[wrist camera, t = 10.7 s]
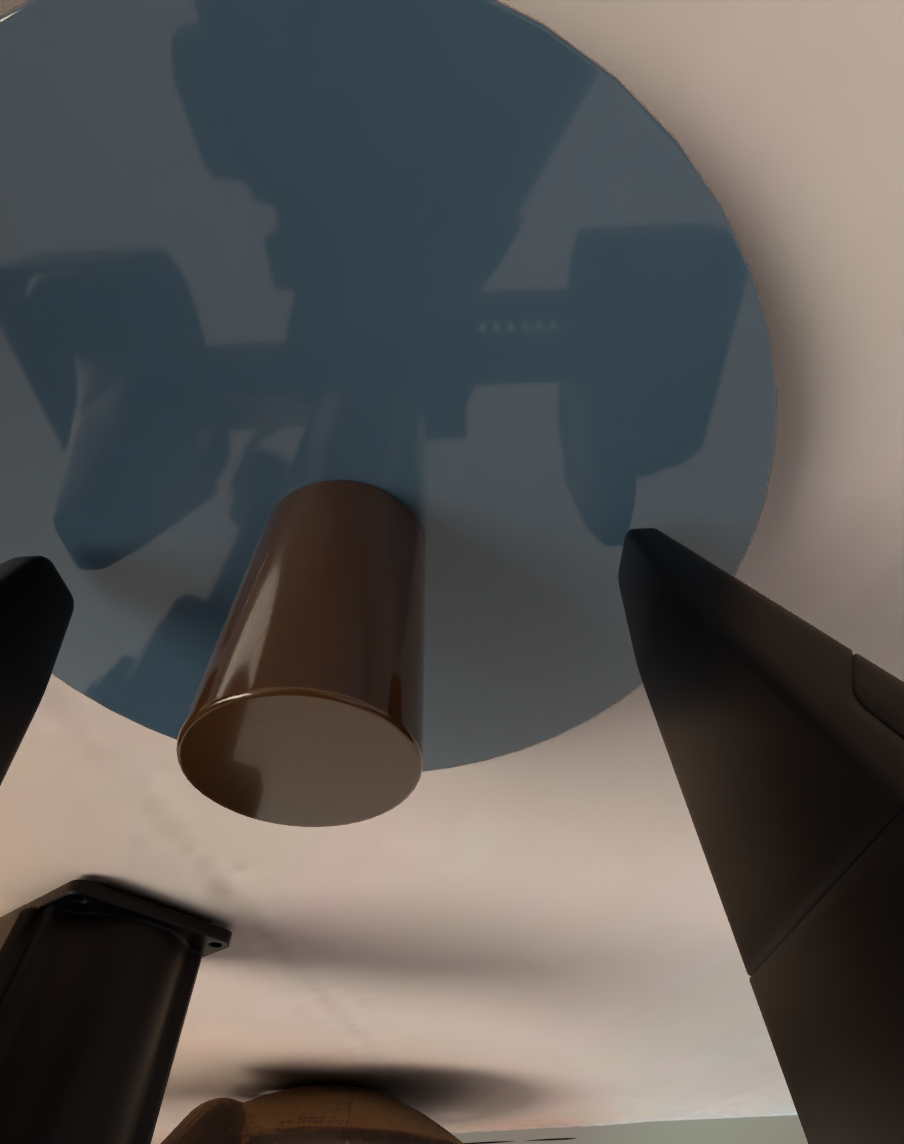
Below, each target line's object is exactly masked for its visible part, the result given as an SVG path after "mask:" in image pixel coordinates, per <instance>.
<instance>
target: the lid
mask: <svg viewBox="0 0 904 1144" xmlns="http://www.w3.org/2000/svg"><path fill="white" fill-rule="evenodd" d="M776 401H777V391H776V382H775V374H774V366H773V357H772V349H771V341H770V333H769V329H768V325H767V322H766V318H765V315H764V311H763V308H762V304H761V301H760V297H759V294H758V290H757V287H756V283H755V280H754V276H753V273H752V269H751V267H750V265H749V263H748V261H747V259H746V256H745V254H744V252H743V250H742V248H741V246H740V244H739V242H738V239H737V237H736V235H735V233H734V231H733V229H732V227H731V225H730V222H729V220H728V218H727V216H726V214H725V212H724V210H723V208H722V205H721V203H720V202H719V201H718V199H717V198H716V196H715V195H714V193H713V192H712V190H711V189H710V187H709V186H708V185H707V183H706V182H705V180H704V179H703V177H702V176H701V174H700V173H699V171H698V170H697V169H696V167H695V166H694V164H693V163H692V161H691V160H690V158H689V157H688V155H687V154H686V153H685V151H684V150H683V148H682V147H681V145H680V144H679V142H678V141H677V139H676V138H675V137H674V136H673V135H672V134H671V133H670V132H669V131H668V130H667V129H666V128H665V127H664V126H663V125H662V124H661V123H660V122H659V121H658V120H657V119H656V118H655V116H654V115H653V114H652V113H651V112H650V111H649V110H648V109H647V108H646V107H645V106H644V105H643V104H642V103H641V102H640V101H639V100H638V99H637V98H636V97H635V96H634V95H633V94H632V93H631V92H630V91H629V89H628V88H627V87H626V86H625V85H624V84H623V83H622V82H621V81H620V80H619V79H618V78H617V77H616V76H614V75H613V74H612V73H610V72H609V71H608V70H606V69H605V68H603V67H602V66H601V65H599V64H598V63H597V62H595V61H594V60H593V59H591V58H590V57H589V56H587V55H586V54H585V53H583V52H582V51H581V50H579V49H578V48H576V47H575V46H574V45H572V44H571V43H570V42H568V41H567V40H566V39H564V38H563V37H562V36H560V35H559V34H558V33H556V32H555V31H554V30H552V29H551V28H549V27H548V26H547V25H545V24H544V23H542V22H540V21H539V20H537V19H535V18H533V17H531V16H529V15H527V14H525V13H523V12H521V11H519V10H517V9H515V8H513V7H511V6H509V5H507V4H505V3H503V2H501V1H499V0H28V1H26V2H24V3H22V4H20V5H19V6H17V7H15V8H13V9H11V10H9V11H8V12H6V13H4V14H2V15H0V564H2V563H4V562H6V561H8V560H10V559H12V558H15V557H24V556H43V557H46V558H48V559H49V560H50V561H51V562H52V563H53V564H54V566H55V568H56V569H57V571H58V572H59V574H60V576H61V577H62V579H63V581H64V582H65V584H66V585H67V587H68V589H69V590H70V592H71V594H72V596H73V599H74V610H73V613H72V616H71V619H70V622H69V625H68V628H67V631H66V633H65V636H64V639H63V642H62V645H61V648H60V651H59V653H58V656H57V659H56V662H55V665H54V668H53V671H52V674H53V675H55V676H56V677H57V678H59V679H60V680H62V681H63V682H65V683H66V684H67V685H69V686H70V687H72V688H73V689H75V690H77V691H79V692H80V693H82V694H84V695H85V696H87V697H89V698H91V699H92V700H94V701H96V702H97V703H99V704H101V705H103V706H104V707H106V708H108V709H109V710H111V711H113V712H115V713H117V714H120V715H122V716H124V717H126V718H128V719H130V720H132V721H134V722H136V723H138V724H140V725H142V726H144V727H147V728H149V729H151V730H154V731H156V732H159V733H161V734H164V735H166V736H169V737H171V738H174V739H176V740H177V748H176V749H177V756H178V762H179V764H180V767H181V769H182V771H183V773H184V774H185V776H186V777H187V779H188V780H189V781H190V782H191V783H192V785H193V786H194V787H195V788H196V789H198V790H199V791H200V792H201V793H202V794H203V795H205V796H206V797H208V798H209V799H211V800H212V801H214V802H216V803H217V804H219V805H221V806H223V807H225V808H227V809H229V810H232V811H234V812H236V813H239V814H242V815H244V816H247V817H250V818H254V819H258V820H261V821H265V822H270V823H275V824H282V825H289V826H301V827H326V826H338V825H346V824H351V823H356V822H360V821H364V820H367V819H371V818H373V817H376V816H379V815H381V814H383V813H385V812H387V811H389V810H391V809H393V808H394V807H396V806H397V805H399V804H400V803H402V802H403V801H404V800H405V799H406V798H407V797H408V796H409V795H410V794H411V793H412V791H413V790H414V789H415V787H416V785H417V783H418V781H419V779H420V776H421V773H422V772H424V771H431V770H439V769H447V768H453V767H458V766H462V765H467V764H472V763H477V762H481V761H486V760H489V759H493V758H496V757H500V756H503V755H506V754H510V753H513V752H517V751H520V750H523V749H525V748H528V747H530V746H533V745H536V744H538V743H541V742H543V741H546V740H549V739H551V738H554V737H556V736H558V735H560V734H562V733H564V732H566V731H568V730H570V729H572V728H574V727H576V726H578V725H580V724H582V723H584V722H587V721H589V720H590V719H592V718H593V717H595V716H597V715H598V714H600V713H602V712H603V711H605V710H606V709H608V708H610V707H611V706H613V705H615V704H616V703H618V702H620V701H621V700H622V699H624V698H625V697H626V696H628V695H629V694H630V693H632V692H633V691H634V690H636V689H637V688H638V687H640V686H641V685H642V684H643V682H642V679H641V676H640V673H639V670H638V667H637V663H636V659H635V655H634V651H633V646H632V642H631V637H630V633H629V628H628V624H627V619H626V615H625V610H624V606H623V601H622V597H621V592H620V588H619V581H618V572H619V566H620V560H621V555H622V550H623V545H624V540H625V536H626V534H627V532H628V531H629V530H630V529H639V528H656V529H658V530H659V531H661V532H663V533H664V534H666V535H667V536H669V537H671V538H672V539H674V540H676V541H677V542H679V543H680V544H682V545H684V546H685V547H687V548H688V549H690V550H692V551H693V552H695V553H696V554H698V555H700V556H701V557H703V558H704V559H706V560H708V561H709V562H711V563H712V564H714V565H716V566H717V567H719V568H720V569H722V570H724V571H725V572H727V573H729V574H730V575H732V576H733V577H734V576H735V574H736V572H737V570H738V568H739V566H740V564H741V562H742V560H743V558H744V555H745V553H746V551H747V549H748V547H749V545H750V543H751V540H752V537H753V534H754V531H755V528H756V525H757V523H758V520H759V517H760V514H761V511H762V508H763V505H764V502H765V499H766V494H767V488H768V483H769V477H770V472H771V467H772V461H773V456H774V450H775V430H776Z"/></svg>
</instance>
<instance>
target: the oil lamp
mask: <svg viewBox="0 0 904 1144" xmlns="http://www.w3.org/2000/svg"><path fill="white" fill-rule="evenodd" d="M161 1144H464V1143H462V1142H461V1141H460V1140H459V1139H457V1138H456V1137H455V1136H453V1135H452V1134H451V1133H450V1132H448V1131H447V1130H446V1129H444V1128H443V1127H441V1126H440V1125H439V1124H437V1123H436V1122H434V1121H433V1120H431V1119H430V1118H428V1117H427V1116H425V1115H424V1114H422V1113H421V1112H419V1111H417V1110H415V1109H414V1108H412V1107H410V1106H408V1105H406V1104H404V1103H402V1102H400V1101H398V1100H396V1099H394V1098H392V1097H390V1096H387V1095H385V1094H383V1093H380V1092H377V1091H374V1090H370V1089H365V1088H355V1087H351V1086H339V1085H338V1086H336V1085H309V1086H300V1087H295V1088H290V1089H286V1090H282V1091H279V1092H275V1093H271V1094H268V1095H264V1096H261V1097H258V1098H255V1099H252V1100H250V1101H247V1102H239V1101H236V1100H234V1099H230V1098H216V1099H212V1100H209V1101H207V1102H205V1103H203V1104H201V1105H199V1106H198V1107H196V1108H195V1109H194V1110H192V1111H191V1112H190V1113H189V1114H188V1115H187V1116H186V1117H185V1118H184V1119H183V1120H182V1121H181V1122H180V1124H179V1125H178V1126H177V1127H176V1128H175V1129H174V1130H173V1131H172V1132H171V1133H170V1134H169V1136H168V1137H167V1138H166V1139H165V1140H164V1141H163V1142H162V1143H161Z"/></svg>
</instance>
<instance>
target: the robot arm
mask: <svg viewBox="0 0 904 1144" xmlns="http://www.w3.org/2000/svg"><path fill="white" fill-rule="evenodd" d="M618 581H619V588H620V592H621V597H622V601H623V606H624V610H625V615H626V619H627V624H628V628H629V633H630V637H631V642H632V646H633V651H634V655H635V659H636V663H637V667H638V670H639V673H640V676H641V679H642V682H643V685H644V688H645V690H646V693H647V696H648V699H649V701H650V704H651V707H652V710H653V712H654V715H655V718H656V721H657V724H658V726H659V729H660V732H661V735H662V737H663V740H664V743H665V746H666V749H667V751H668V754H669V757H670V760H671V762H672V765H673V768H674V771H675V774H676V776H677V779H678V782H679V785H680V787H681V790H682V793H683V796H684V799H685V801H686V804H687V807H688V810H689V812H690V815H691V818H692V821H693V824H694V826H695V829H696V832H697V835H698V837H699V840H700V843H701V846H702V849H703V851H704V854H705V857H706V860H707V862H708V865H709V868H710V871H711V874H712V876H713V879H714V882H715V885H716V887H717V890H718V893H719V896H720V899H721V901H722V904H723V907H724V910H725V912H726V915H727V918H728V921H729V923H730V926H731V929H732V932H733V935H734V937H735V940H736V943H737V946H738V948H739V951H740V954H741V957H742V960H743V962H744V965H745V968H746V971H747V973H748V975H750V976H751V977H750V983H751V986H752V988H753V991H754V994H755V997H756V1000H757V1002H758V1005H759V1008H760V1011H761V1013H762V1016H763V1019H764V1022H765V1025H766V1027H767V1030H768V1033H769V1036H770V1038H771V1041H772V1044H773V1047H774V1050H775V1052H776V1055H777V1058H778V1061H779V1063H780V1066H781V1069H782V1072H783V1075H784V1077H785V1080H786V1083H787V1086H788V1088H789V1091H790V1094H791V1097H792V1100H793V1102H794V1105H795V1108H796V1111H797V1113H798V1116H799V1119H800V1122H801V1125H802V1127H803V1130H804V1133H805V1136H806V1138H807V1141H808V1144H904V682H903V681H901V680H900V679H898V678H896V677H895V676H893V675H891V674H890V673H888V672H886V671H885V670H883V669H881V668H880V667H878V666H877V665H875V664H873V663H872V662H870V661H869V660H867V659H865V658H864V657H862V656H861V655H859V654H854V655H853V653H852V650H851V649H849V648H847V647H846V646H844V645H843V644H841V643H839V642H838V641H836V640H835V639H833V638H831V637H830V636H828V635H826V634H825V633H823V632H822V631H820V630H818V629H817V628H815V627H814V626H812V625H810V624H809V623H807V622H806V621H804V620H802V619H801V618H799V617H798V616H796V615H794V614H793V613H791V612H790V611H788V610H786V609H785V608H783V607H782V606H780V605H778V604H777V603H775V602H773V601H772V600H770V599H769V598H767V597H765V596H764V595H762V594H761V593H759V592H757V591H756V590H754V589H753V588H751V587H749V586H748V585H746V584H745V583H743V582H741V581H740V580H738V579H737V578H735V577H733V576H732V575H730V574H729V573H727V572H725V571H724V570H722V569H720V568H719V567H717V566H716V565H714V564H712V563H711V562H709V561H708V560H706V559H704V558H703V557H701V556H700V555H698V554H696V553H695V552H693V551H692V550H690V549H688V548H687V547H685V546H684V545H682V544H680V543H679V542H677V541H676V540H674V539H672V538H671V537H669V536H667V535H666V534H664V533H663V532H661V531H659V530H658V529H656V528H639V529H630V530H629V531H628V532H627V534H626V536H625V540H624V545H623V550H622V555H621V560H620V566H619V572H618ZM73 610H74V599H73V596H72V594H71V592H70V590H69V589H68V587H67V585H66V584H65V582H64V581H63V579H62V577H61V576H60V574H59V572H58V571H57V569H56V568H55V566H54V564H53V563H52V562H51V561H50V560H49V559H48V558H46V557H43V556H24V557H15V558H12V559H10V560H8V561H6V562H4V563H2V564H0V785H1V783H2V781H3V779H4V777H5V775H6V773H7V771H8V769H9V766H10V764H11V762H12V760H13V758H14V756H15V754H16V752H17V750H18V748H19V746H20V744H21V741H22V739H23V737H24V735H25V733H26V731H27V729H28V727H29V725H30V723H31V721H32V719H33V716H34V714H35V712H36V710H37V708H38V706H39V704H40V701H41V699H42V697H43V695H44V692H45V690H46V687H47V684H48V682H49V679H50V676H51V673H52V671H53V668H54V665H55V662H56V659H57V656H58V653H59V651H60V648H61V645H62V642H63V639H64V636H65V633H66V631H67V628H68V625H69V622H70V619H71V616H72V613H73ZM231 935H232V932H231V931H229V930H227V929H224V928H221V927H218V926H216V925H213V924H210V923H207V922H204V921H202V920H199V919H196V918H193V917H190V916H187V915H185V914H182V913H179V912H176V911H173V910H170V909H168V908H165V907H162V906H159V905H156V904H153V903H151V902H148V901H145V900H142V899H139V898H136V897H134V896H131V895H128V894H125V893H122V892H119V891H117V890H114V889H111V888H108V887H105V886H102V885H100V884H97V883H94V882H90V881H85V880H74V881H71V882H69V883H67V884H65V885H63V886H61V887H59V888H57V889H55V890H54V891H52V892H50V893H48V894H46V895H44V896H42V897H40V898H38V899H36V900H34V901H32V902H30V903H28V904H26V905H24V906H23V907H21V908H19V909H17V910H15V911H13V912H11V913H9V914H7V915H5V916H3V917H1V918H0V1144H151V1140H152V1136H153V1133H154V1129H155V1125H156V1122H157V1118H158V1115H159V1111H160V1107H161V1104H162V1100H163V1096H164V1093H165V1089H166V1086H167V1082H168V1078H169V1075H170V1071H171V1067H172V1064H173V1060H174V1057H175V1053H176V1049H177V1046H178V1042H179V1038H180V1035H181V1031H182V1028H183V1024H184V1020H185V1017H186V1013H187V1009H188V1006H189V1002H190V999H191V995H192V991H193V988H194V984H195V980H196V977H197V973H198V970H199V966H200V962H201V959H202V957H204V956H207V955H209V954H212V953H215V952H217V951H220V950H223V949H225V948H227V947H229V943H230V939H231Z"/></svg>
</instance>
